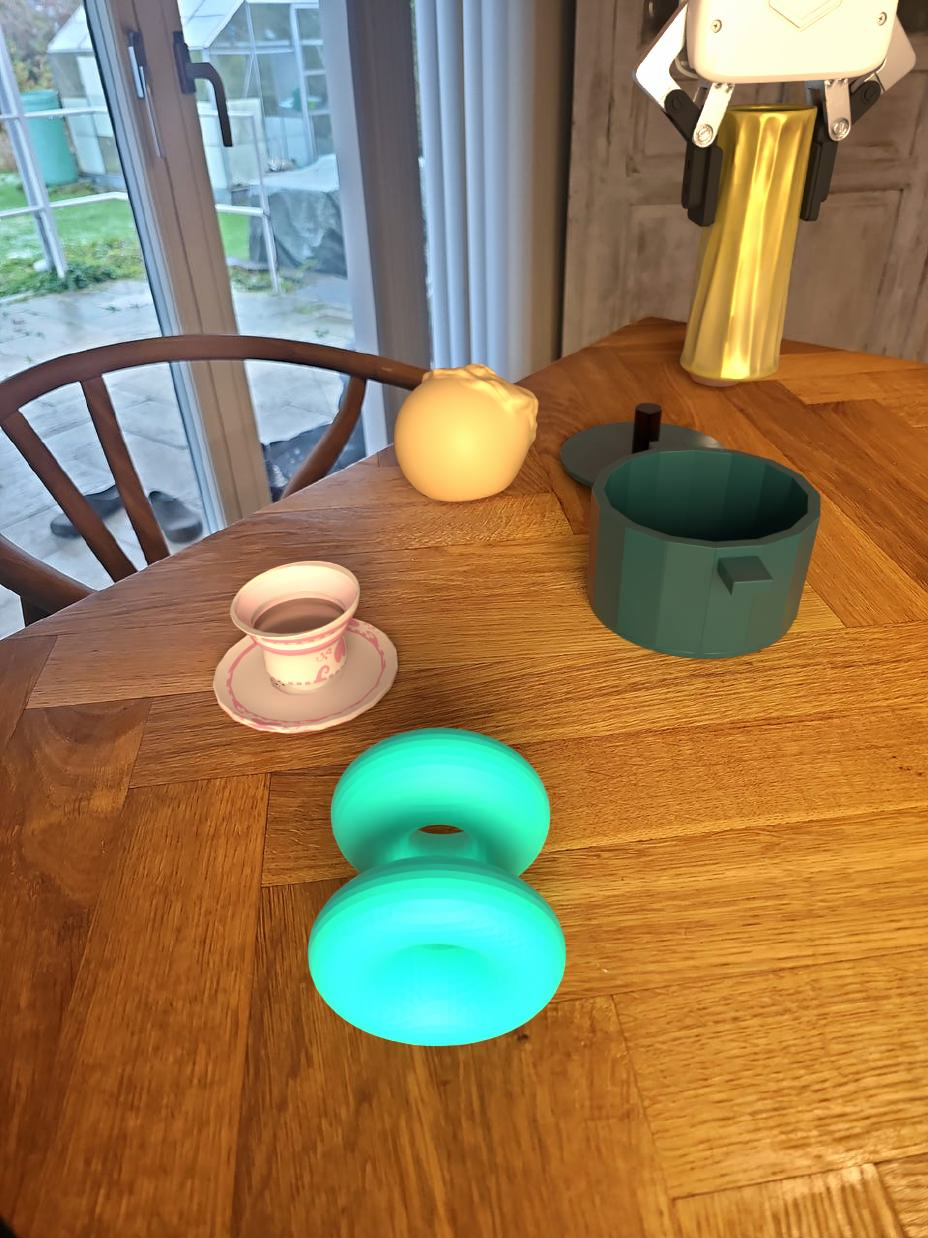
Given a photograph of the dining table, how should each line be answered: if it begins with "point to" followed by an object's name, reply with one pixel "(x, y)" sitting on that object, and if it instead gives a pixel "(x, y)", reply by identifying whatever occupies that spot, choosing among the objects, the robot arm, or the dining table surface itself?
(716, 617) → the pot
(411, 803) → the turquoise spool
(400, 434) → the sculpture
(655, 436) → the pot lid
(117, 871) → the dining table surface
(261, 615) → the teacup
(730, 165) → the vase
